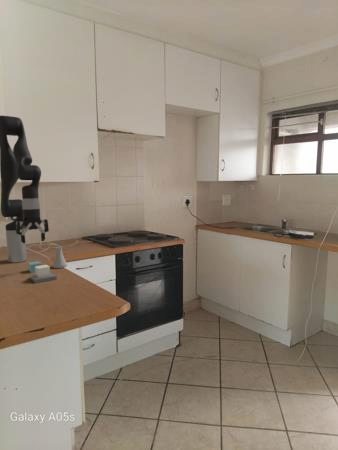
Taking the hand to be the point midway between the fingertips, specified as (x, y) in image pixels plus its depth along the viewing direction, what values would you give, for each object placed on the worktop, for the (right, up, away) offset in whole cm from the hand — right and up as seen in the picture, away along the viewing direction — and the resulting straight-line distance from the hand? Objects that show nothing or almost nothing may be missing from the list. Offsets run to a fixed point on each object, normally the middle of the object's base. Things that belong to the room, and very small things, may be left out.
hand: (33, 242), depth 155 cm
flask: (+10, -13, +9) cm, 19 cm away
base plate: (+9, -16, -11) cm, 21 cm away
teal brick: (0, -14, +2) cm, 14 cm away
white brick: (+9, -14, -11) cm, 20 cm away
